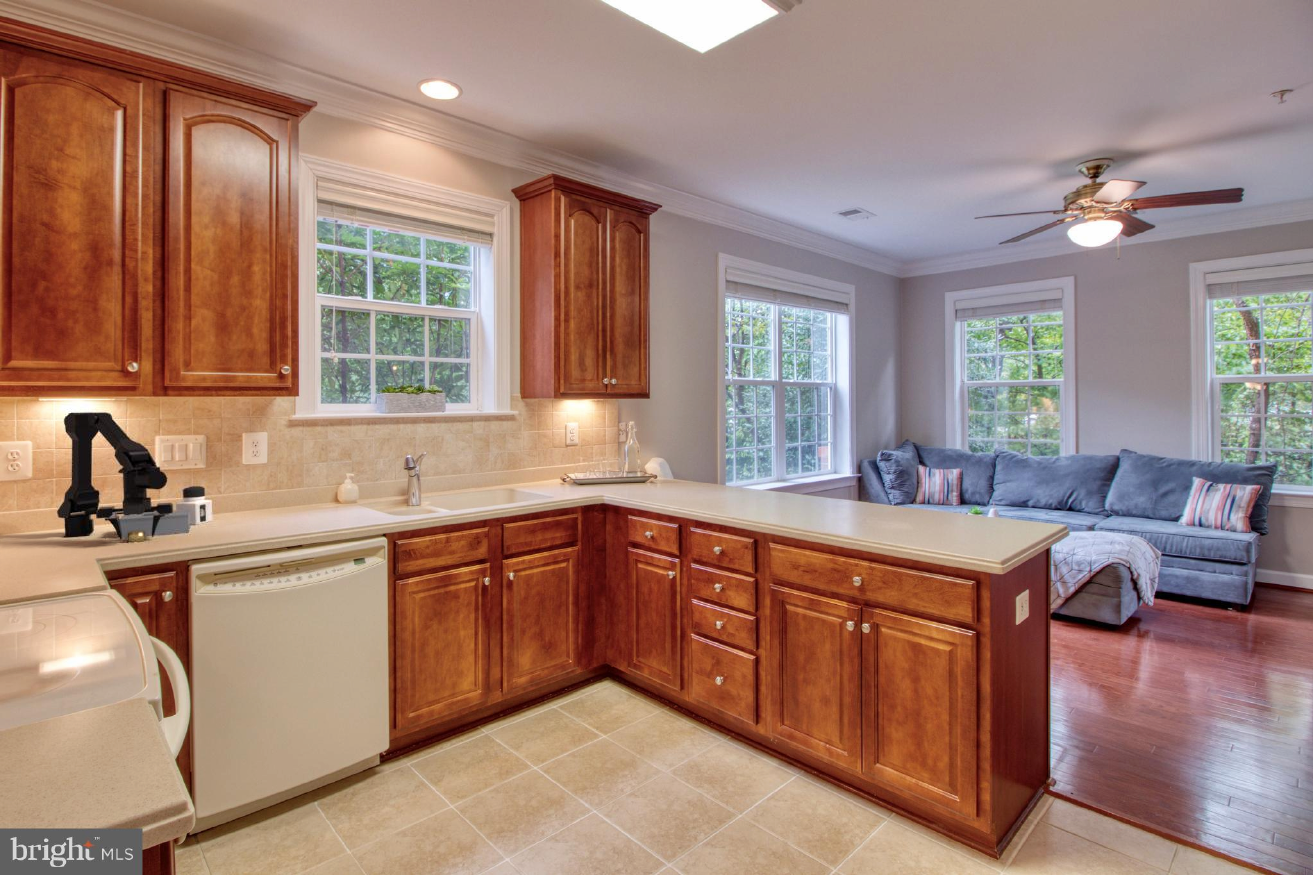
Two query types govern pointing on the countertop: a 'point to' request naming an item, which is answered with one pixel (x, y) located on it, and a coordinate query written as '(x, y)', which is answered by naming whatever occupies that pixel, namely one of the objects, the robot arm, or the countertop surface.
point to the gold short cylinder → (136, 536)
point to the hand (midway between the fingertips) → (137, 537)
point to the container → (196, 505)
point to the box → (166, 524)
